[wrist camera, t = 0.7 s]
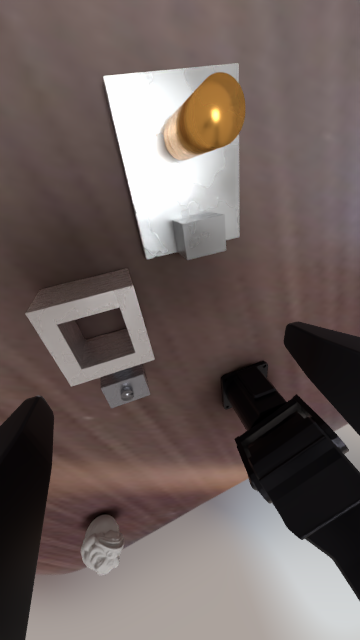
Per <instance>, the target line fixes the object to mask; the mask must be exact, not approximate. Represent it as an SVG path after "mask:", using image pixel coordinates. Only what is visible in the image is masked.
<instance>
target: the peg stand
mask: <svg viewBox="0 0 360 640" xmlns="http://www.w3.org/2000/svg"><path fill="white" fill-rule="evenodd" d="M103 85H104V89H105V93H106V97H107V101H108V105H109V110H110V114H111V118H112V122H113V126H114V130H115V134H116V139H117V143H118V147H119V151H120V155H121V159H122V163H123V168H124V172H125V176H126V180H127V184H128V188H129V192H130V197H131V201H132V205H133V209H134V213H135V217H136V221H137V226H138V230H139V234H140V238H141V242H142V246H143V250H144V255H145V257H146V259H151V258H155V257H159V256H163V255H167V254H171V253H175V252H178V253H179V254H180V255H182V256H183V257H184V258H185V259H186V260H190V259H194V258H198V257H202V256H206V255H210V254H214V253H218V252H222V251H226V240H229V239H233V238H237V237H239V132H240V130H241V128H242V125H243V122H244V118H245V99H244V94H243V91H242V89H241V87H240V85H239V63H234V64H224V65H213V66H203V67H193V68H182V69H172V70H162V71H152V72H141V73H131V74H121V75H111V76H103Z"/></svg>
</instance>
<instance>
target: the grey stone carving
mask: <svg viewBox="0 0 360 640" xmlns="http://www.w3.org/2000/svg"><path fill="white" fill-rule="evenodd" d="M123 547H124V538H123V535H122V533H119V526H118V524H117V523H116V521H115V519H114V518H113V517H112V516H110V515H101V516H98V517H97V518H95V519H94V520H93V521H92V522H91V524H90V525H89V527H88V529H87V531H86V535H85V539H84V541H83V545H82V547H81V555H82V559H83V562H84V563H85V564H86V566H87V567H88V568H90V569H92V570H94V571H96V573H97V574H98V575H102V574H105V575H106V574H108V573H109V572H110V570H111V569H112V568H115V567H117V566H118V565H119V557H120V554H121V551H122V549H123Z"/></svg>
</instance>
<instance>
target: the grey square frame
mask: <svg viewBox="0 0 360 640" xmlns="http://www.w3.org/2000/svg"><path fill="white" fill-rule="evenodd" d="M119 307H120V309H121V312H122V315H123V318H124V321H125V324H126V327H127V328H125V329H122V330H118V331H115V332H111V333H108V334H104V335H101V336H98V337H94V338H91V339H87V340H85V339H84V337H83V335H82V333H81V331H80V329H79V327H78V325H77V323H76V321H75V320H76V319H79V318H83V317H86V316H90V315H94V314H97V313H101V312H105V311H108V310H112V309H116V308H119ZM25 314H26V315H27V317H28V319H29V320H30V322H31V323H32V325H33V327H34V328H35V330H36V331H37V333H38V334H39V336H40V338H41V339H42V341H43V342H44V344H45V346H46V347H47V349H48V350H49V352H50V354H51V355H52V357H53V358H54V360H55V361H56V363H57V365H58V366H59V368H60V369H61V371H62V373H63V374H64V376H65V377H66V379H67V381H68V382H69V384H70V385H71V387H72V386H75V385H78V384H81V383H84V382H87V381H90V380H93V379H96V378H99V377H103V376H106V375H109V374H112V373H115V372H118V371H121V370H124V369H127V368H130V367H133V366H137V365H140V364H143V363H146V362H149V361H152V360H155V358H154V355H153V352H152V348H151V345H150V341H149V338H148V334H147V331H146V328H145V324H144V321H143V317H142V314H141V310H140V307H139V304H138V300H137V297H136V293H135V290H134V286H133V283H132V280H131V277H130V274H129V271H128V268H125V269H121V270H117V271H113V272H109V273H105V274H101V275H97V276H93V277H89V278H85V279H81V280H77V281H73V282H68V283H64V284H60V285H56V286H52V287H48V288H44V289H40V291H39V292H38V294H37V296H36V297H35V299H34V300H33V302H32V304H31V305H30V307H29V308H28V310H27V312H26V313H25Z"/></svg>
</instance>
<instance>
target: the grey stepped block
mask: <svg viewBox="0 0 360 640" xmlns="http://www.w3.org/2000/svg"><path fill="white" fill-rule="evenodd" d="M101 390H102V392H103V394H104V395H105V397H106V399H107V401H108V403H109V405H110V407H111V408H114V407H117V406H120V405H122V404H125V403H128V402H131V401H134V400H137V399H140V398H142V397H145V396H148V395H150V391H149V386H148V382H147V378H146V375H145V372H144V369H143V366H142V364H140V365H137V366H133V367H130V368H127V369H124V370H121V371H118V372H115V373H112V374H109V375H106V376H103V377H101Z"/></svg>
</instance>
